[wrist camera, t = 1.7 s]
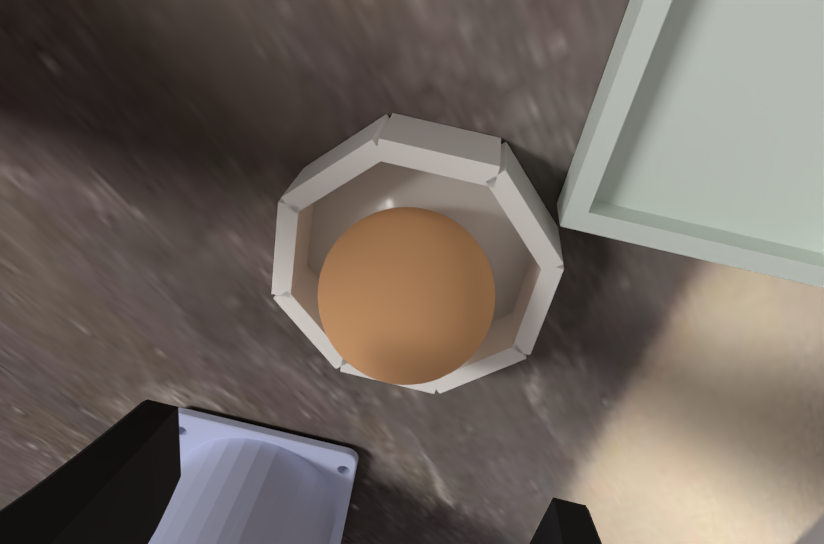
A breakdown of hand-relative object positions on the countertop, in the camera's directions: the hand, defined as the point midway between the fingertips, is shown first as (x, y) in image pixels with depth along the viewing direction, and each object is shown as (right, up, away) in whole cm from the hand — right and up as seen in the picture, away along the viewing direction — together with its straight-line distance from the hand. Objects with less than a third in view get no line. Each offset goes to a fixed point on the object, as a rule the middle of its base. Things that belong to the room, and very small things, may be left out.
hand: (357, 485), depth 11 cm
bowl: (+1, +5, +8) cm, 10 cm away
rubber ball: (+1, +5, +8) cm, 9 cm away
